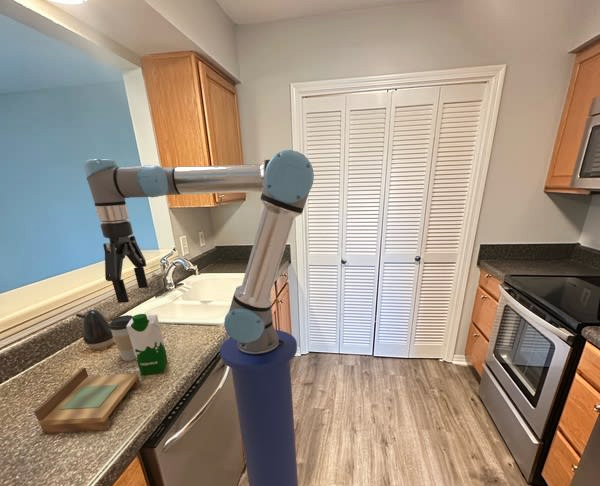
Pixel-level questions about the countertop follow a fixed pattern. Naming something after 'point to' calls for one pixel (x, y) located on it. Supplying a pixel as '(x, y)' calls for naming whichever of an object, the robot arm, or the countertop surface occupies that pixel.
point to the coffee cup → (122, 336)
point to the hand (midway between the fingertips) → (134, 294)
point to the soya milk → (147, 343)
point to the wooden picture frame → (84, 402)
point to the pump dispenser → (96, 330)
